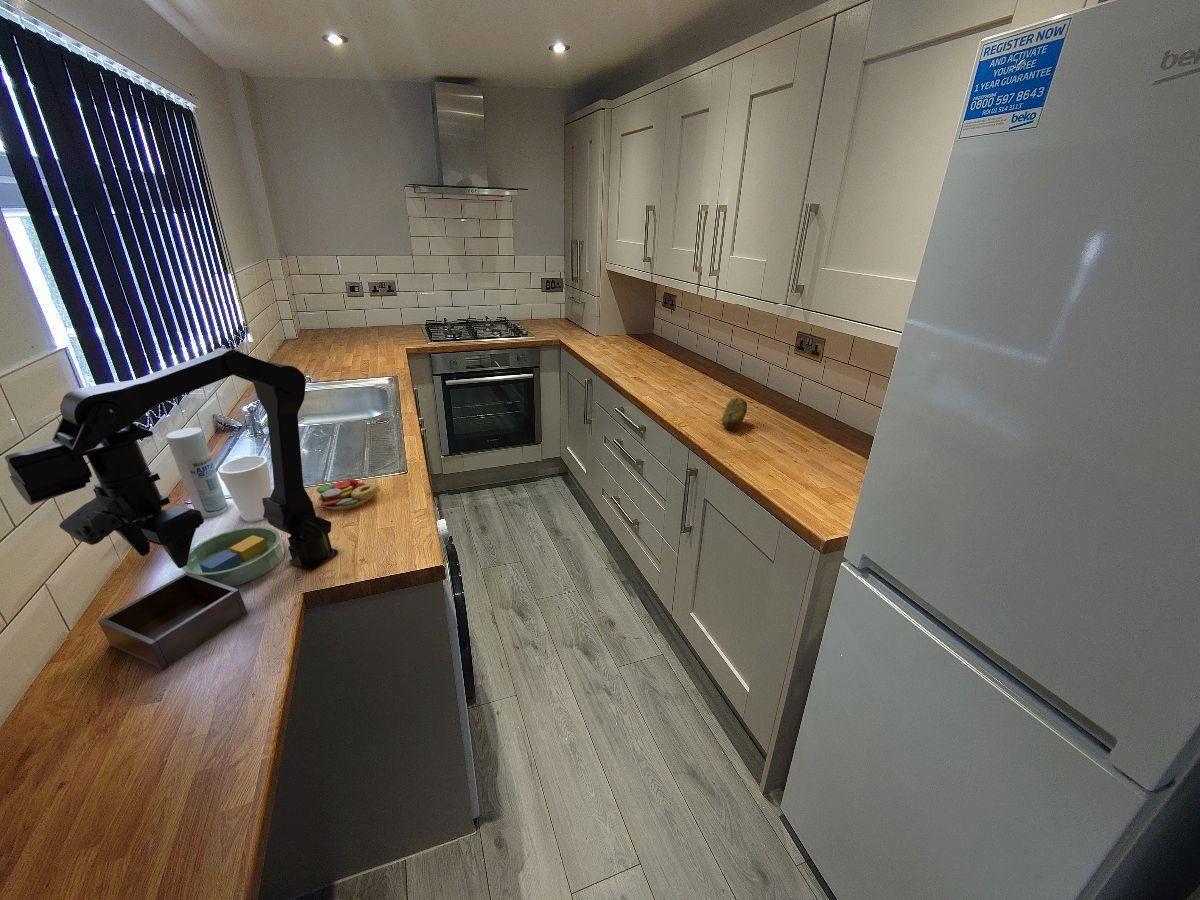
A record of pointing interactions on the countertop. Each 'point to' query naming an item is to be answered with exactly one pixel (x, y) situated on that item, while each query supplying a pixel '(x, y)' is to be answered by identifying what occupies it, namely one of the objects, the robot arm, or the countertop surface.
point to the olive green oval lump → (734, 413)
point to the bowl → (245, 569)
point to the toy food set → (346, 494)
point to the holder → (173, 619)
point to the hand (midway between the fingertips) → (163, 560)
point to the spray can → (197, 471)
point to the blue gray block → (220, 562)
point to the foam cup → (248, 484)
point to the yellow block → (249, 547)
